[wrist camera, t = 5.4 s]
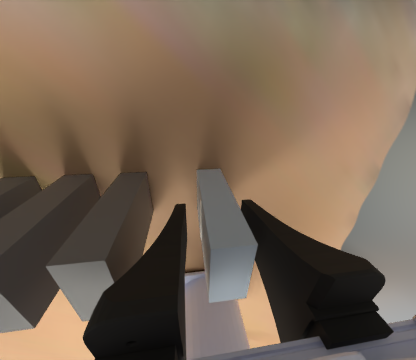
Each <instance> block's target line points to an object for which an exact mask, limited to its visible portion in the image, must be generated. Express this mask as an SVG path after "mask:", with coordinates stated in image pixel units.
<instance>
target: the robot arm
mask: <svg viewBox="0 0 416 360" xmlns="http://www.w3.org/2000/svg"><path fill="white" fill-rule="evenodd" d="M241 212H242V214H243V216H244V218H245V220H246V222H247V224H248V226H249V228H250V230H251V232H252V234H253V236H254V238H255V240H256V242H257V244H258V246H257V251H256V255H255V262H256V264H257V267H258V269H259V272H260V275H261V278H262V281H263V284H264V287H265V290H266V293H267V296H268V299H269V303H270V306H271V309H272V313H273V316H274V319H275V323H276V327H277V330H278V334H279V338H280V341H281V343H279V344H274V345H268V346H263V347H257V348H252V349H250V346H249V342H248V338H247V335H246V331H245V327H244V323H243V319H242V316H241V312H240V308H239V304H238V300H237V299H234V300H227V301H220V302H213V303H209V300H208V292H207V284H206V276H205V271H201V272H192V273H185V262H186V248H187V223H186V205H185V204H176V205H175V208H174V210H173V212H172V215H171V217H170V218H169V220H168V222H167V224H166V226H165V227H164V229H163V230H162V232H161V233H160V235H159V236H158V238H157V239H156V240H155V242H154V243H153V244H152V246H151V247H150V248H149V249H148V250H147V251H146V253H145V254H144V255H143V256H142V257H141V258H140V259H139V260H138V261H137V262H136V263H135V264H134V265H133V266H132V267H131V268H130V269H129V270H128V271H127V272H126V273H125V274H124V275H123V276H122V277H120V278H119V279H118V280H117V281H116V282H115V283H113V284H112V285H111V286H110V287H109V288H107V289H106V290H105V291H104V292H103V293H102V295H101V297H100V299H99V301H98V303H97V305H96V306H95V308H94V310H93V313H92V315H91V317H90V320H89V322H88V325H87V327H86V330H85V332H84V335H83V340H84V343H85V345H86V346H87V348H88V349H89V350H90V352H91V353H92V354H93V356H94V357H95V360H416V315H415V316H414V317H413V319H411V320H405V321H400V322H395V323H389V324H387V323H386V322H385V321H384V320H383V319H382V317H381V316H380V315H379V314H378V313H377V312H376V311H378V310H379V308H378V306H377V305H375V303H374V302H373V301H372V300H373V298H374V297H375V296H376V295H377V293H379V291H380V290H381V289H382V287H383V286H384V284H385V277H384V275H383V274H382V273H381V272H380V271H378V270H377V269H376V268H375V267H374V266H373V265H372V264H371V263H370V262H369V261H368V260H366V259H364V258H361V257H358V256H355V255H352V254H349V253H346V252H343V251H341V250H338V249H335V248H333V247H330V246H328V245H325V244H323V243H321V242H318V241H316V240H314V239H312V238H310V237H308V236H306V235H304V234H302V233H300V232H298V231H296V230H294V229H293V228H291V227H289V226H287V225H286V224H284V223H283V222H281V221H279V220H278V219H276V218H275V217H274V216H272V215H271V214H269V213H268V212H266V211H265V210H264V209H262V208H261V207H260V206H258V205H257V204H256V203H254V202H253V201H252V200H242V205H241Z"/></svg>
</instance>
